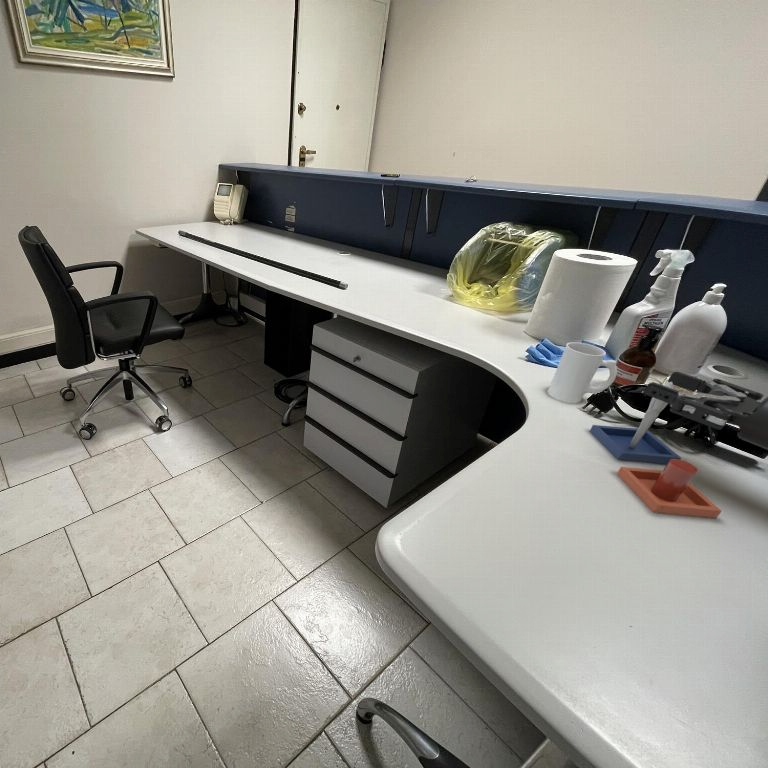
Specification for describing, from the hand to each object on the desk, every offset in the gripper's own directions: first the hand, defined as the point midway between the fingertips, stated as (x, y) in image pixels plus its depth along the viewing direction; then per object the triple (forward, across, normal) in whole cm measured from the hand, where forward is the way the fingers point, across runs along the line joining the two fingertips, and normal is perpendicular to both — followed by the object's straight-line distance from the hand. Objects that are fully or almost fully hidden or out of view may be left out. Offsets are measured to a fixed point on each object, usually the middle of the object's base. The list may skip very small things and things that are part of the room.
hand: (659, 381), depth 69 cm
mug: (+14, -9, +14) cm, 21 cm away
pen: (-2, 0, +13) cm, 13 cm away
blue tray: (-1, 0, +14) cm, 14 cm away
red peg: (-10, +10, +13) cm, 19 cm away
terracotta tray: (-10, +10, +14) cm, 20 cm away
